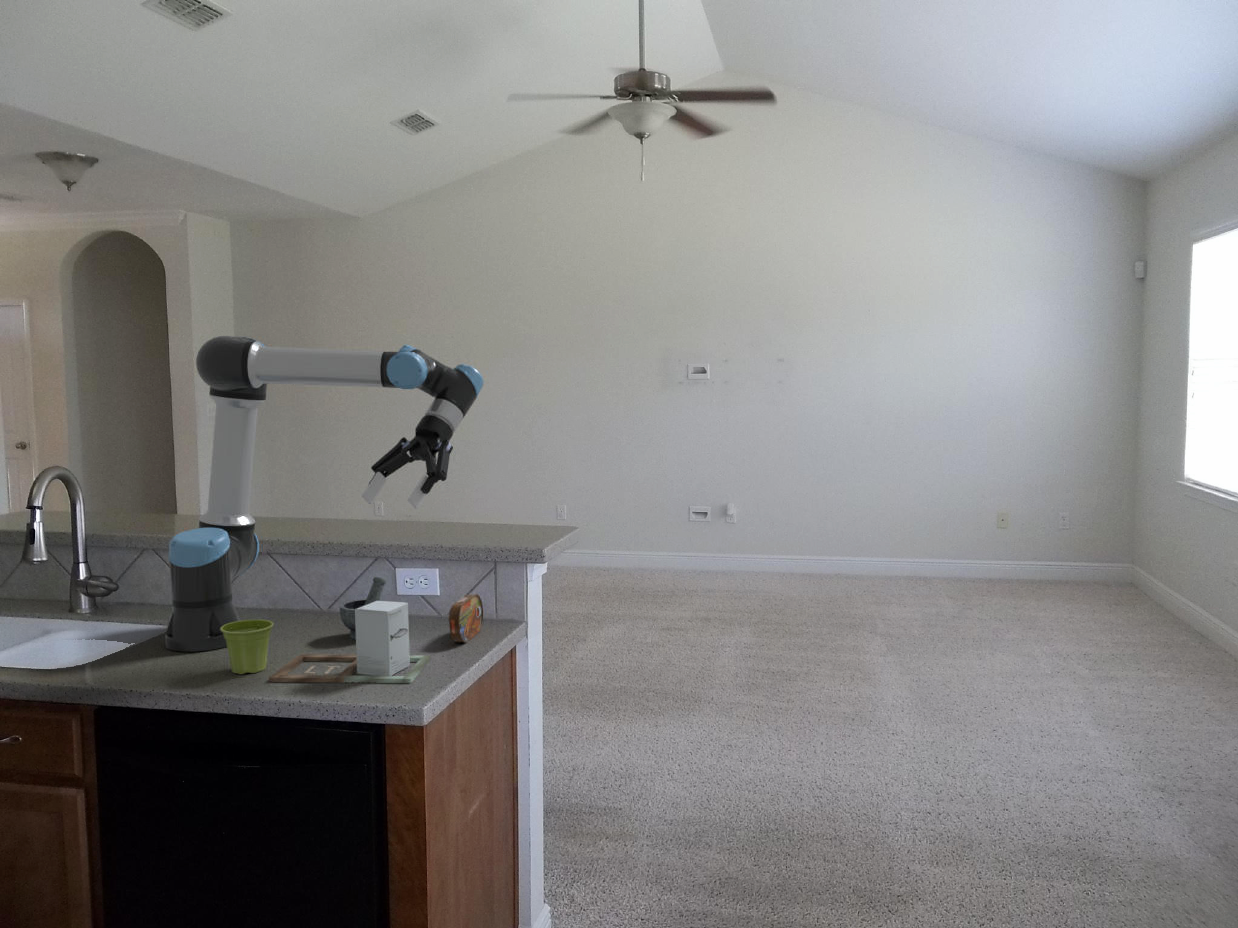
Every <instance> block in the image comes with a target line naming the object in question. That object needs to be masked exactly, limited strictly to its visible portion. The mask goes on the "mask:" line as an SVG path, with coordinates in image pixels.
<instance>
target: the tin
mask: <svg viewBox="0 0 1238 928" xmlns="http://www.w3.org/2000/svg"><path fill="white" fill-rule="evenodd" d="M483 623H484V607H483V601H482V599H481V597H480V595H479V594H476V593H475V594H467V595H464V596H463V597H461V598H460V599H459V600H458V601H456V602H454V603H453V604H452V606H450V609H449V613H448V625H449V634H450V638H451V640H452V641H453V642H454V643H466V644H467V643H468V642H470V641H471V640H472V639H473V638H474V637H475V636H476V635H478V634H479V633H480V632H481V630H482V627H483Z"/></svg>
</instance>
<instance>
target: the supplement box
mask: <svg viewBox="0 0 1238 928" xmlns="http://www.w3.org/2000/svg"><path fill="white" fill-rule="evenodd" d="M409 625H410V623H409V603H408V602H403V601H389V600H383V601H375V602H372V603H370V604H368V605H365V606H362V607H360V608H357V609H355V628H356V639H355V649H356V651H355V652H356V654H355V655H357V670H356V674H357V675H362V676H394V675H395V674H397V673H398V672H401V671H403V670H405V669H406V668H409V667H410V666H411V664H410V663H411V662H410V655H411V654H410V635H409V634H410V630H409V629H410V627H409Z"/></svg>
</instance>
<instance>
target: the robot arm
mask: <svg viewBox="0 0 1238 928" xmlns="http://www.w3.org/2000/svg"><path fill="white" fill-rule="evenodd" d="M195 362H196V363H195V365H196V370H197V374H198V375H199V377H200V379H201V380H202V381H203V382H204V383H205V384H206V385H207V386H208V387H209V397H210V399H212V401H213V402H214V403H215V414H214V415H215V416H214V429H213V439H212V451H211V453H212V455H211V462H210V463H211V465H210V466H211V467H210V476H209V489H208V501H207V511H206V512H205V513H203V514H202V515H201V516H199V519H198V520H199V521H198V522H199V523H198V528H193V529H190V530H185V531H182V532H179V533H176V534H175V535H174V536H172V538H171V539H170V541H169V543H168V544H169V545H168V555H167V557H168V561H169V576H170V589H171V604H172V605H171V606H172V608H171V609H172V611H171V614H170V617H169V621H168V624H167V627H166V628H167V629H166V631H165V635H164V636H165V637H164V641H165V643H164V644H165V648H166V649H168V650H170V651H176V652H188V653H189V652H202V651H211V650H212V651H213V650H216V649H217V650H218V649H222V648H227V644H226V639H225V638H224V635H223V632H221V630H220V628H221V627H222V626H223V625H225V624H228V623H231V622H236V621H241V619H240V617H239V616H238V613H237V610H236V608H235V605H234V602H233V589H232V588H233V585H232V580H233V579H235V578H236V577H239V576H241V575H243V574H244V573H246V572H247V571H248V570H249V569H250V568H251V567H252V566H253V564H254V563H255V562H256V560H257V559H258V556H259V552H260V542H259V538H258V536H257V534H256V533H255V527H256V520H255V518H254V517H252V515H251V514H250V504H251V503H250V502H251V494H252V493H251V491H252V480H253V479H252V478H253V470H254V469H253V468H254V455H255V445H256V443H255V442H256V431H257V420H258V409H259V407H260V406H262V405H263V404H264V403H265V402H266V399H267V391H268V385H270V384H271V385H272V384H273V385H274V384H275V385H299V386H305V385H306V386H328V387H329V386H331V387H335V386H336V387H360V388H361V387H363V388H365V387H367V388H387V389H388V388H389V389H390V388H392V389H401V390H414V389H418V390H420V391H422V392H424V393H425V394H428V395H429V396H430V397H433V398H434V399H433V401H432V402H431V403H430V405H429V407H428V409H426V411H425V413H424V415H423V416H422V418H421V419H420V421H419V422H418V423H417V425H416V427H415V429H414V431H415V434H414V435H415V436H414V437H412V439H411V440H407V438H406V437H402V438H400V440H399V441H398V443H396V445H395V446H393V447H392V448H391V449H390V450H388V452H387V453H385V454H384V455H383V456H381V458H379V459H378V460H377V461H376V462H375V463H374V464H372V466H371V467H370V469H371V471H373V472H374V475H373V476H372V478H371V479H370V481H369V482H368V486H367V487H366V488H365V490H364V492H363V493H362V494H361V497H362V498H363V499H364V501H366V502H367V503H368V504H369V505H372V504H373V502H374V501H375V499H376V497H377V496H378V495H379V493H380V491H381V490H382V489H383V487H384V486H385V484H386V482H387V480H388V479H387V477H389V476H390V475H392V474H394V473H395V472H396V471H397V470H398V471H399V469H401V468H403V467H404V466H405V465H407V464H409V463H410V464H411V463H413V462H415V461H422V462H425V468H426V472H425V474H426V475H422V477H421V478H420V480H419V481H418V483H417V485H416V486H415V488H414V489H413V491H412V492H411V494H410V496H409V497H408V499H407V501H408V503H409V504H410V505H411V506H412V507H413V508H414V509H417V510H418V509H419V507H420V506H421V503H422V502H423V500H424V499H425V498H426V496H427V495H428V494H429V493H430V491H431V490H432V489H433V486H434V485H435V484H437V483H438V482H439V481H442V482H445V481H446V480H447V477H448V471H449V470H448V469H449V462H450V456H451V453H452V451H453V449H454V447H453V444H451V443H450V440H451V439H452V438H453V436H454V433H456V430H457V429H458V427H459V426H460V425H461V423H462V421H463V419H464V418H465V416H466V415H467V414H468V412H469V410H470V409H471V407H472V405H474V403H475V401H476V399H477V397H478V396H479V394H480V392H481V390H482V389H483V387H484V378H483V376H482V374H481V373H480V371H478V370H477V369H476V368H475V367H473V366H471V365H466V364H464V363H461V364H457V365H456V366H455V367H454V368H452V367H449V366H447V365H445V364H443V363H442V362H441V361H438V360H437V359H435V358H433V357H432V356H430V355H428V354H426V353H425V352H423V351H422V350H420V349H418V348H417V347H416V348H415V347H414V346H412V345H410V344H404V345H402V346H401V347H400V348H399V349H398V351H383V350H381V351H380V350H360V349H359V350H357V349H356V350H355V349H336V348H335V349H333V348H330V349H329V348H308V347H307V348H306V347H303V348H302V347H279V346H266V345H264V344H263V343H262V342H260V341H258V340H256V339H253V338H251V337H246V336H229V335H221V336H216V337H213V338H211V339H209V340H207V341H205V343H203V345H201V347H200V349H199V350H198V352H197V354H196V358H195ZM437 453H438V454H437ZM436 455H437V456H436Z"/></svg>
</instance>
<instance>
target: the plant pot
mask: <svg viewBox="0 0 1238 928" xmlns="http://www.w3.org/2000/svg"><path fill="white" fill-rule="evenodd" d="M273 627H274V622H273V621H272V620H271V621H270V620H267V619H245V620H240V621H236V622H231V623H228V624H225V625H223V626H222V627H221V628H220V630H221V632H223V635H224V638H225V639H226V644H227V646H226V648H227V653H228V657H229V663H230V669H231V672H232V673H233V674H237V673H238V674H239V675H244V674H246V673H250V674H256V673H258V672H262V671H264V670H266V667H267V659H268V648H269V642H270V641H269V640H270V635H271V634H272V633H271V632H272V628H273ZM238 674H237V675H238Z"/></svg>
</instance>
